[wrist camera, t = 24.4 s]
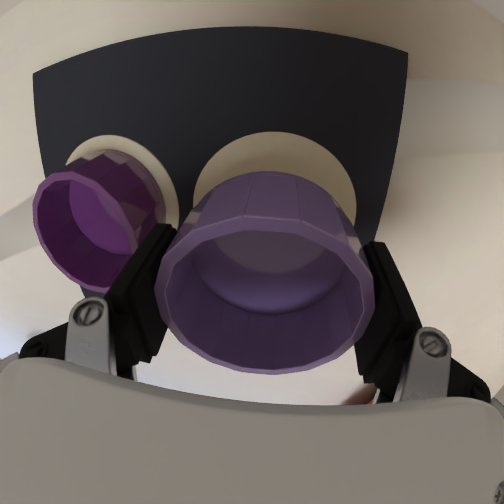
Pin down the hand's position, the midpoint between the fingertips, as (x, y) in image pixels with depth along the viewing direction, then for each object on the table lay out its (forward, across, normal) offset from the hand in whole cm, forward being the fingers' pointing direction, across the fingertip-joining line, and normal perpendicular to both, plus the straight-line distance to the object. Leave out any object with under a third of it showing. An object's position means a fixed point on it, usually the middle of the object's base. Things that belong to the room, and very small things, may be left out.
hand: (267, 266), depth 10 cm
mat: (+5, +4, 0) cm, 6 cm away
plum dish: (+4, +9, 0) cm, 10 cm away
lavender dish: (+1, 0, 0) cm, 1 cm away
